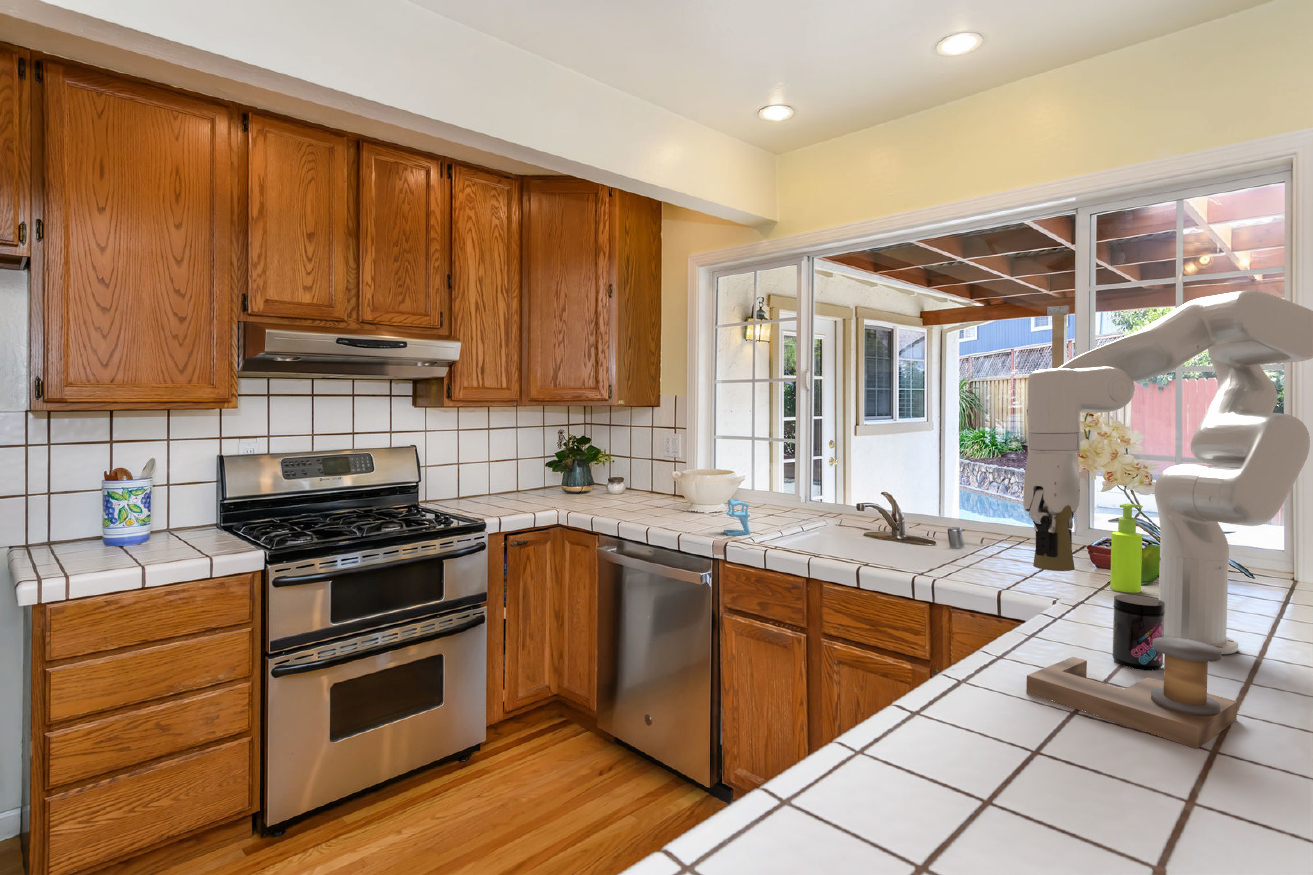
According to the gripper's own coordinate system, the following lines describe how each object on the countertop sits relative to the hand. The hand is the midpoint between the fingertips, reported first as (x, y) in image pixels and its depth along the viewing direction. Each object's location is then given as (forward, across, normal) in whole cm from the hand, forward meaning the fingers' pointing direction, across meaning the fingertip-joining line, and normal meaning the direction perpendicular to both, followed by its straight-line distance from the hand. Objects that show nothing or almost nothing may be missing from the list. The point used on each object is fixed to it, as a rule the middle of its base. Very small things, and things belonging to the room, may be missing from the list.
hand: (1053, 552), depth 113 cm
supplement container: (+18, -7, +10) cm, 21 cm away
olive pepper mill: (+3, 0, 0) cm, 3 cm away
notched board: (+17, +13, +16) cm, 26 cm away
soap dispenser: (+19, -62, -12) cm, 66 cm away
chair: (+17, -36, -119) cm, 126 cm away
